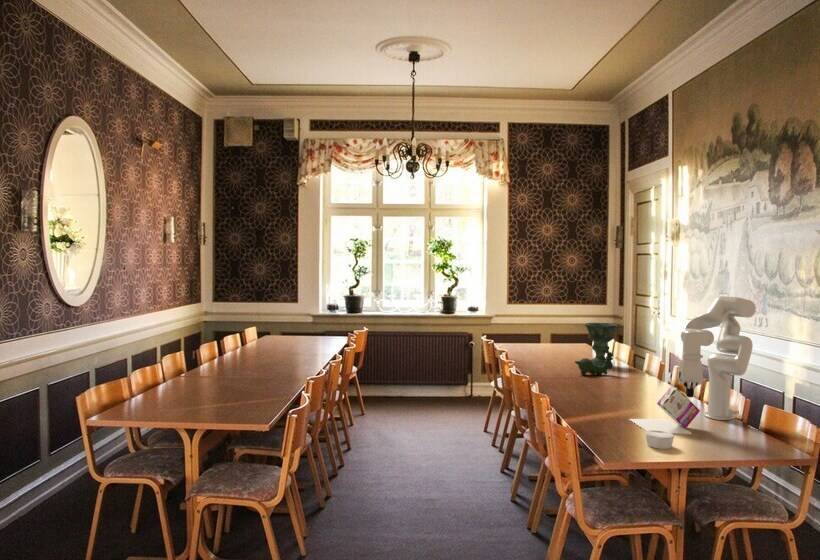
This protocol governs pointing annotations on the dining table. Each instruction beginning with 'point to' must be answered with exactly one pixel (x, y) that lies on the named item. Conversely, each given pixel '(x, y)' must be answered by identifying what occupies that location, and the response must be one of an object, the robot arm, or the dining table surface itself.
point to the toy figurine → (592, 368)
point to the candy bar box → (678, 407)
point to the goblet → (600, 339)
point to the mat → (660, 425)
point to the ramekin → (659, 439)
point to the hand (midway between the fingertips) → (689, 396)
